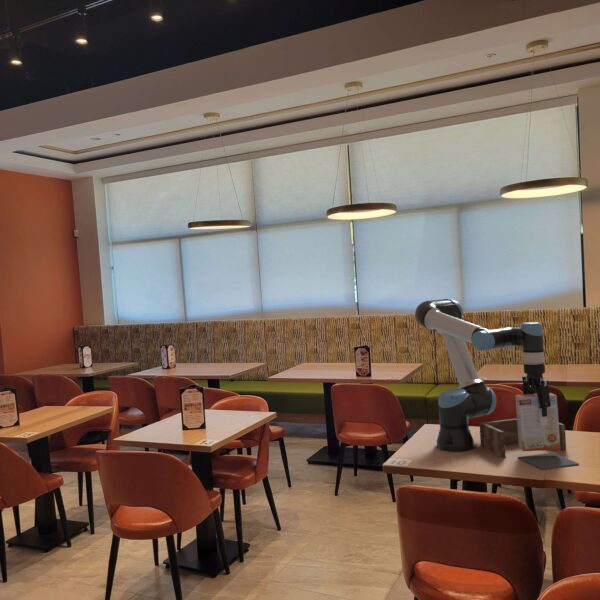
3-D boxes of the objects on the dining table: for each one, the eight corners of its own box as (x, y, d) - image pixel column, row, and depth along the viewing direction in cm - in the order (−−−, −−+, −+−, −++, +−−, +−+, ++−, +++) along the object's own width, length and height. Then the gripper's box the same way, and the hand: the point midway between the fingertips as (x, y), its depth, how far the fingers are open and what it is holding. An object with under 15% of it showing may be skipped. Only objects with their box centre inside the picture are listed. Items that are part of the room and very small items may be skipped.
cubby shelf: (480, 446, 238) (479, 422, 238) (541, 439, 243) (539, 416, 243) (502, 457, 221) (500, 432, 221) (566, 449, 226) (564, 424, 226)
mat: (518, 458, 220) (518, 456, 220) (553, 453, 223) (553, 452, 223) (541, 469, 205) (541, 468, 205) (578, 465, 208) (578, 463, 208)
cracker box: (555, 446, 222) (552, 392, 222) (560, 450, 216) (557, 395, 216) (518, 447, 223) (514, 393, 223) (522, 451, 217) (519, 396, 217)
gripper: (559, 365, 210) (562, 427, 210) (527, 359, 230) (531, 416, 230) (540, 366, 209) (544, 429, 209) (510, 361, 228) (514, 418, 229)
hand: (537, 422), depth 220 cm, fingers closed on cracker box, 7 cm apart
